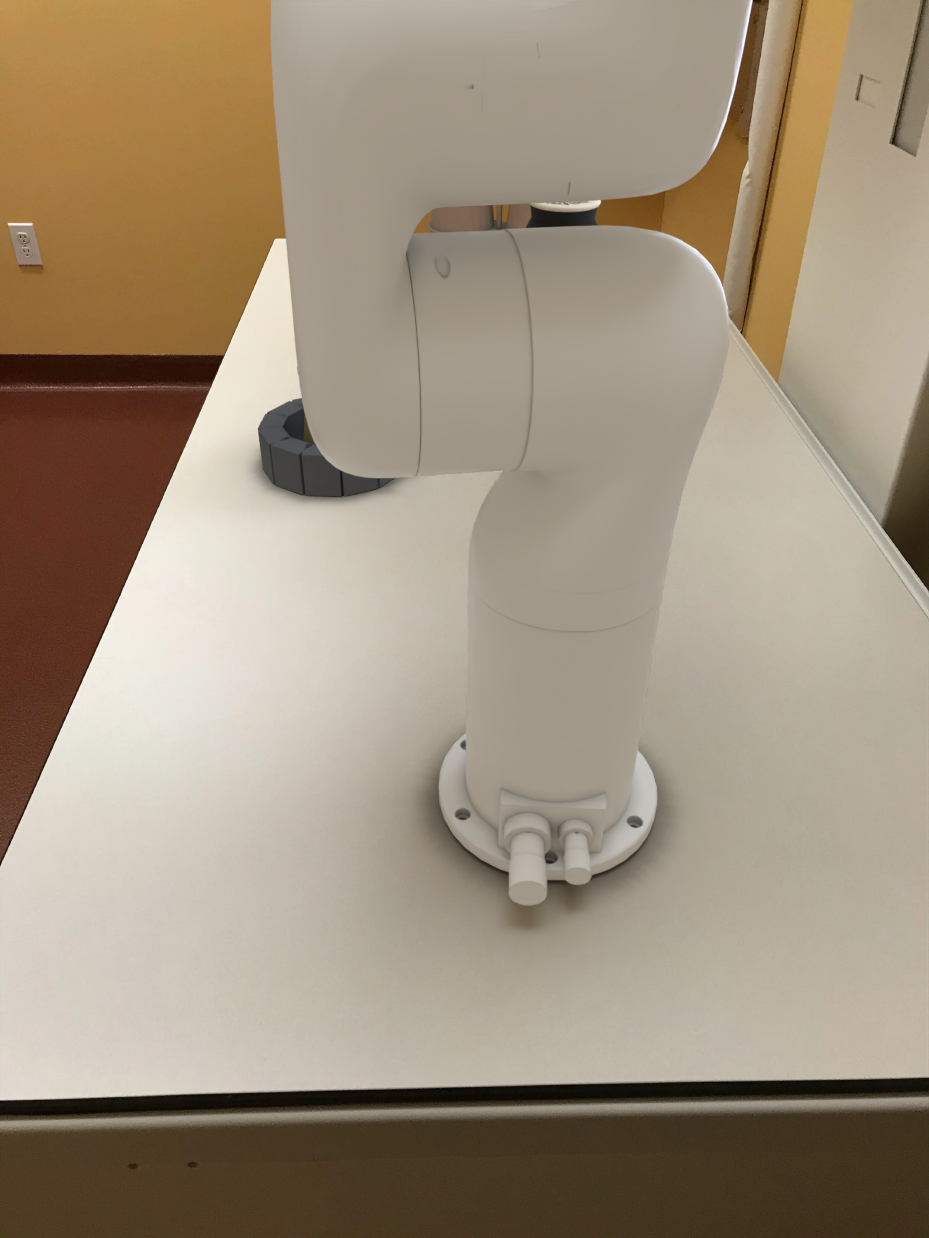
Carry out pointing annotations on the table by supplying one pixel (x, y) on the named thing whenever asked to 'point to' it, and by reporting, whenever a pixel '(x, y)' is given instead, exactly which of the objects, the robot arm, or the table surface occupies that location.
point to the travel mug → (563, 214)
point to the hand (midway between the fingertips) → (430, 120)
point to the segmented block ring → (303, 458)
